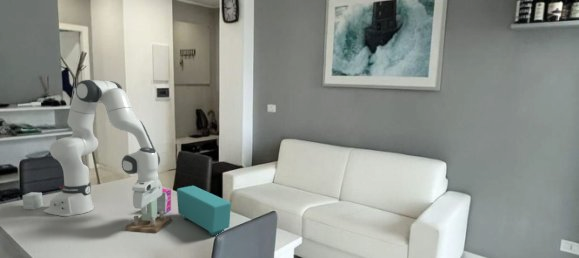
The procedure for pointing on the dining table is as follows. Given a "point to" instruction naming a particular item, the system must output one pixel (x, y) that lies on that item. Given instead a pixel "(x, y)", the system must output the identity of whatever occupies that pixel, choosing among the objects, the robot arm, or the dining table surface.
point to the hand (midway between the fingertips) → (149, 211)
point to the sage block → (150, 210)
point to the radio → (204, 209)
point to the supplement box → (164, 201)
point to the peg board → (149, 223)
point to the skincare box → (32, 200)
